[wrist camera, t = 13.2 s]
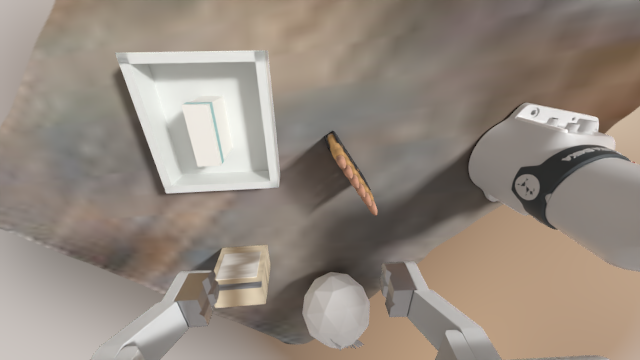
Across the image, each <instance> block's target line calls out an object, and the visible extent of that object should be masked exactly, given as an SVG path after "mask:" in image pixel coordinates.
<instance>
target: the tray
mask: <svg viewBox="0 0 640 360" xmlns="http://www.w3.org/2000/svg"><path fill="white" fill-rule="evenodd" d="M115 54H116V57H117V59H118V62H119V65H120V68H121V70H122V73H123V76H124V79H125V81H126V84H127V87H128V90H129V92H130V95H131V98H132V101H133V103H134V106H135V109H136V112H137V114H138V117H139V120H140V123H141V125H142V128H143V131H144V134H145V137H146V139H147V142H148V145H149V148H150V150H151V153H152V156H153V159H154V161H155V164H156V167H157V170H158V172H159V175H160V178H161V181H162V183H163V186H164V189H165V192H166V193H185V192H204V191H222V190H241V189H260V188H279V181H280V166H279V156H278V146H277V136H276V126H275V116H274V106H273V96H272V87H271V77H270V67H269V57H268V51H197V52H131V53H115ZM201 96H223V98H224V103H225V108H226V114H227V119H228V125H229V130H230V136H231V141H232V147H233V148H232V149H231V151H230V152H229V154H228V155H227V157H226V158H225V160H224V162H223V164H221V166H197V162H196V159H195V155H194V151H193V147H192V143H191V140H190V136H189V132H188V128H187V124H186V121H185V117H184V113H183V109H182V105H183V104H184V103H186V102H190V101H192V100H194V99H196V98H198V97H201Z"/></svg>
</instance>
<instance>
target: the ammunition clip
mask: <svg viewBox="0 0 640 360" xmlns="http://www.w3.org/2000/svg"><path fill="white" fill-rule="evenodd" d="M324 137H325V140H326V143H327V146H328V149H329V150H330V152H331V153H332V156H333V158H334V159H335V160H336V162H337V164H338V166H339V167H340V168H341V169H342V171H343V172H344V174H345V176H346V177H347V178H348V179H349V181H350V183H351V184H352V186H353V187H354V188H355V189H356V191H357V193H358V194H359V195H360V196H361V198H362V200H363V201H364V203H365V204H366V205H367V207H368V209H369V210H370V211H371V213H372V214H373V215H375V216H377V207H376V204H375V202H374V200H373V195H372V193H371V192H370V190H371V189H370V188H369V186H368V184H367V182H366V180H365V178H364V176H363V175H362V173H361V172H360V170H359V169H358V167H357V166H356V164H355V162H354V161H353V159H352V158H351V156H350V155H349V153H348V152H347V150H346V149H345V147H344V146H343V144H342V143H341V141H340V140H339V138H338V136H337V135H336V133H335V132H334V131H332V132H330V133H329V134H327V135H326V136H324Z"/></svg>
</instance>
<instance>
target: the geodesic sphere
mask: <svg viewBox="0 0 640 360" xmlns="http://www.w3.org/2000/svg"><path fill="white" fill-rule="evenodd" d="M369 306H370V302H369V300H368V298H367V296H366V293H365V291H364V289H363V287H362V286H361V285H360V284H359V283H357V282H356V281H355V280H354V279H353V278H352V277H350V276H349V275H348V274H342V273H335V272H329V273H327V274H325V275H323V276H321V277H319V278H317V279H315V280H314V282H313V283H312V285H311V286H310V288H309V290H308V291H307V293H306V294H305V296H304V303H303V311H302V314H303V317H304V320H305V322H306V325H307V328H308V330H309V333H310V335H311V336H312V337H314V338H315V339H317V340H319V341H320V342H322V343H323V344H325V345H327V346H328V347H331V348H339V349H340V350H341V348H342V349H343V348H345V347H346V348H348V346H350V347H351V345H352V346H353V348H355V346H354V345H353V344H355V345H356V346H357V347H359V346H362V345H363V343H362V342H360V341H359V340H357V339H358V338H359V337H360V336H361V334H362V333H363V332H364V331H365V329H366V328H367V327H368V325H369V308H370V307H369ZM351 348H352V347H351Z"/></svg>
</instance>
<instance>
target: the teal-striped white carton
mask: <svg viewBox="0 0 640 360" xmlns="http://www.w3.org/2000/svg"><path fill="white" fill-rule="evenodd" d="M182 109H183V113H184V117H185V121H186V124H187V128H188V132H189V136H190V140H191V143H192V147H193V151H194V155H195V159H196V162H197V166H221V164H223V162H224V160H225V158H226V157H227V155H228V154H229V152H230V151H231V149H232V148H233V147H232V141H231V136H230V130H229V125H228V119H227V114H226V108H225V103H224V98H223V96H201V97H198V98H196V99H194V100H192V101H190V102H186V103H184V104H183V105H182Z"/></svg>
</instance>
